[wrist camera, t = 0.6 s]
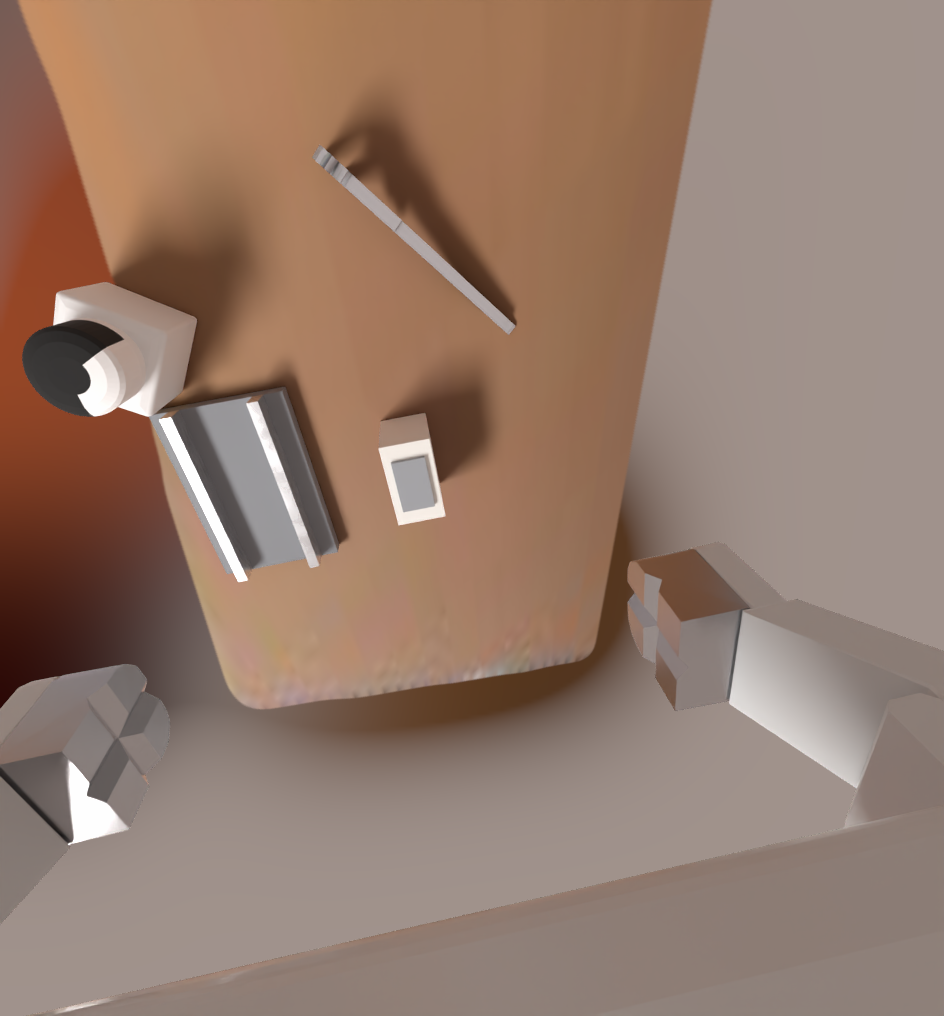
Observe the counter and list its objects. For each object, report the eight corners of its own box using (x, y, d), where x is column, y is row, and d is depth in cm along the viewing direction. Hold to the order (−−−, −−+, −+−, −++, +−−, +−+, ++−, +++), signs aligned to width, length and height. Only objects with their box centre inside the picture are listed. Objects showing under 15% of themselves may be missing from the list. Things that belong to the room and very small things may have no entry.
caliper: (317, 162, 39) (304, 153, 34) (325, 150, 39) (313, 138, 34) (507, 334, 48) (522, 348, 42) (515, 324, 47) (530, 338, 42)
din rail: (168, 412, 45) (159, 419, 43) (262, 394, 46) (257, 401, 44) (243, 570, 54) (238, 582, 52) (321, 555, 55) (319, 566, 53)
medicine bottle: (94, 361, 44) (1, 404, 33) (105, 280, 41) (7, 299, 31) (183, 393, 46) (121, 442, 36) (199, 317, 43) (137, 347, 33)
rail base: (155, 410, 46) (148, 415, 45) (285, 386, 47) (282, 391, 46) (231, 565, 55) (227, 573, 54) (339, 544, 56) (337, 552, 55)
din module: (380, 421, 50) (378, 450, 43) (425, 412, 50) (429, 440, 44) (398, 491, 54) (398, 527, 47) (439, 483, 54) (445, 518, 48)
